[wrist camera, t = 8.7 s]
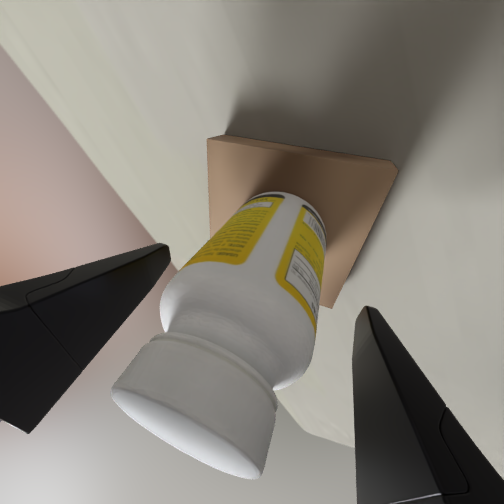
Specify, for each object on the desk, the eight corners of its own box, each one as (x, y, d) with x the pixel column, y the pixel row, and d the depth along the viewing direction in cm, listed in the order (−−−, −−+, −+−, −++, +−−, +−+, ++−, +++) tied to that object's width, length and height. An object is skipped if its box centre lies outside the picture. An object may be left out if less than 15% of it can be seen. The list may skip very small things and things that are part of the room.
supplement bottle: (227, 247, 14) (97, 406, 7) (252, 171, 11) (48, 322, 3) (299, 284, 14) (247, 497, 6) (349, 218, 11) (363, 504, 3)
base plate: (390, 160, 10) (398, 170, 9) (332, 288, 16) (331, 308, 14) (223, 134, 12) (206, 138, 11) (222, 256, 18) (211, 270, 16)
